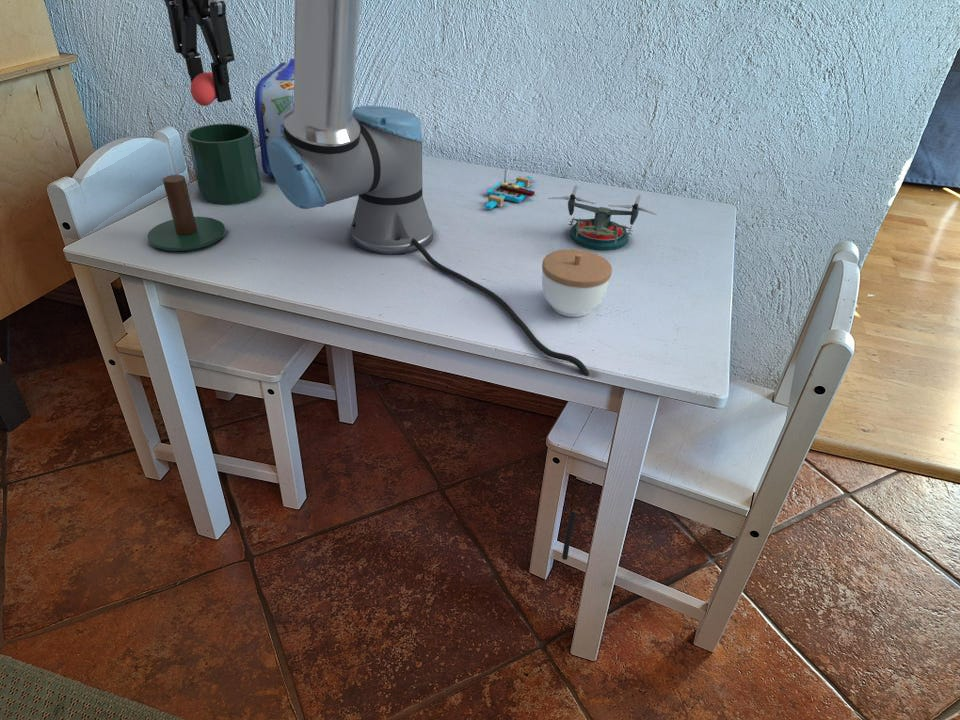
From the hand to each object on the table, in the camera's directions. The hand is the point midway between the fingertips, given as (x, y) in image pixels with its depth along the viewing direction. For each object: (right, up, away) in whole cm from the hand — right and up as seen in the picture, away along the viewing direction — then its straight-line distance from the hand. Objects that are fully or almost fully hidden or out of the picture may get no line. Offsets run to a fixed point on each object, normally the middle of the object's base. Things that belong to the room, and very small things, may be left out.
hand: (212, 97), depth 126 cm
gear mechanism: (+59, -15, +16) cm, 63 cm away
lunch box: (+9, -5, +26) cm, 28 cm away
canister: (-1, -16, +11) cm, 19 cm away
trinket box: (+66, -42, -21) cm, 81 cm away
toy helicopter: (+74, -28, -1) cm, 79 cm away
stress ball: (0, -1, 0) cm, 1 cm away
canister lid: (-2, -28, -6) cm, 29 cm away
